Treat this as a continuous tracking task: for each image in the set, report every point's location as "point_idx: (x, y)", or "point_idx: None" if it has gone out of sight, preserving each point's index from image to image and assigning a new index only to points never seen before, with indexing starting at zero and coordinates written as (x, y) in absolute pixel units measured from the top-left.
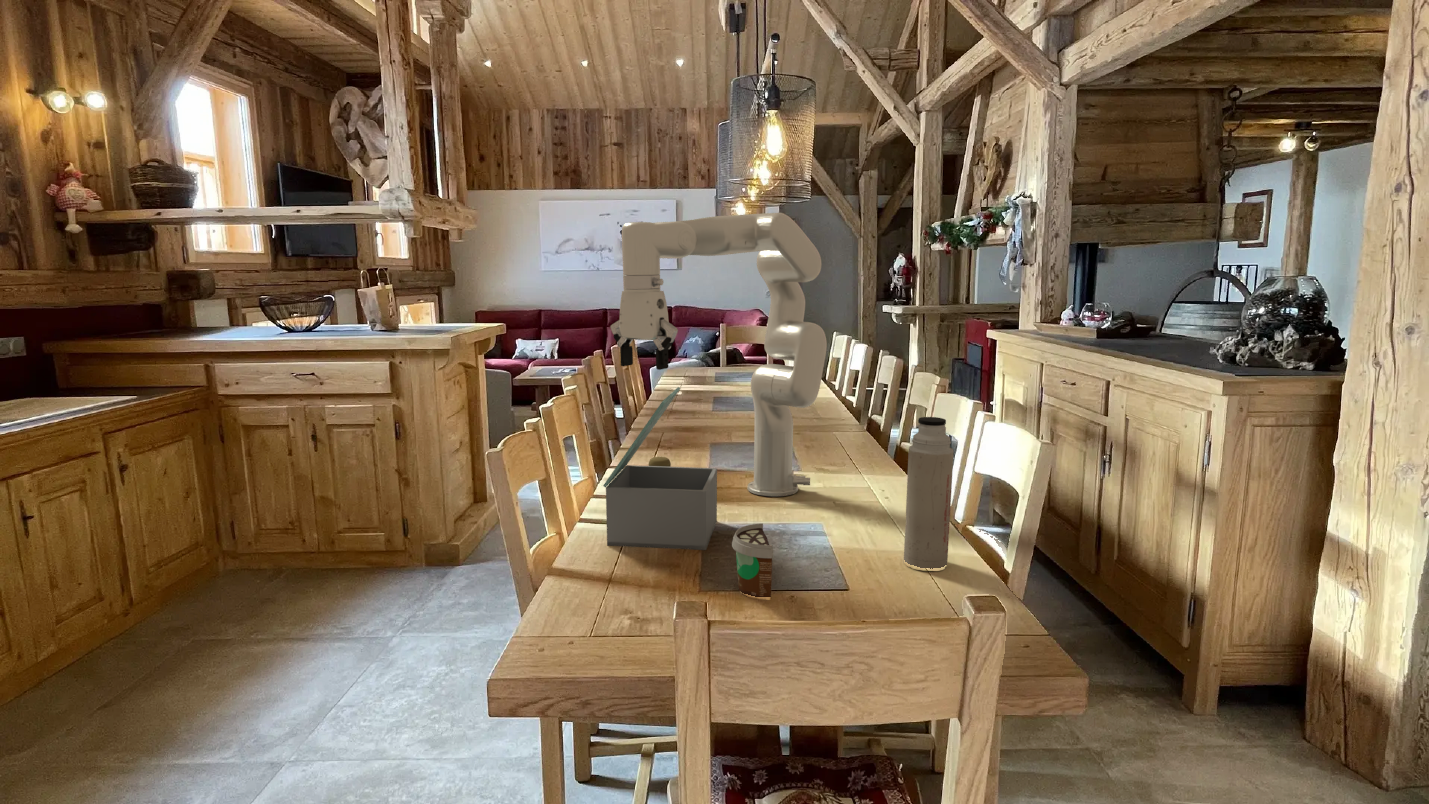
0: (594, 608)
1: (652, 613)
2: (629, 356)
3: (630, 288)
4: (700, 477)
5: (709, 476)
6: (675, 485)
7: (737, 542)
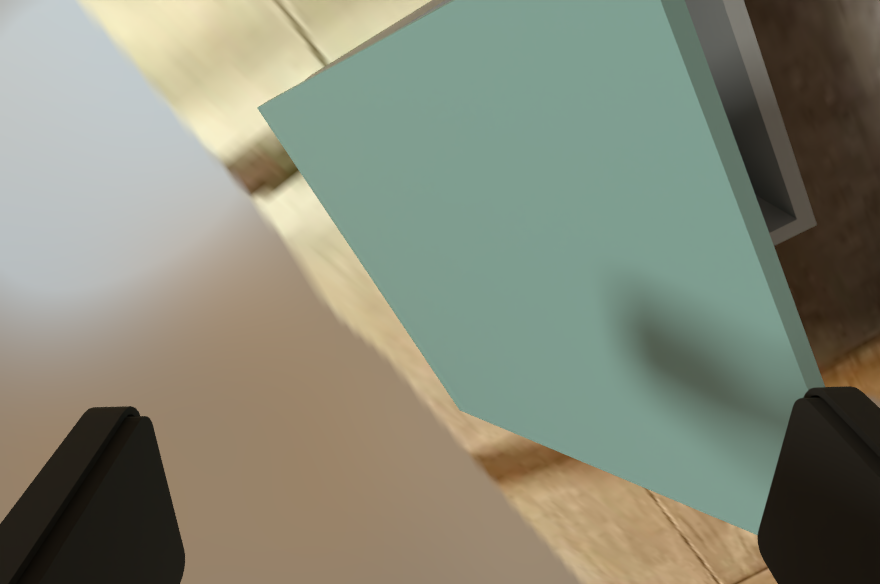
0: (666, 531)
1: None
2: (109, 570)
3: None
4: None
5: (732, 24)
6: None
7: None
